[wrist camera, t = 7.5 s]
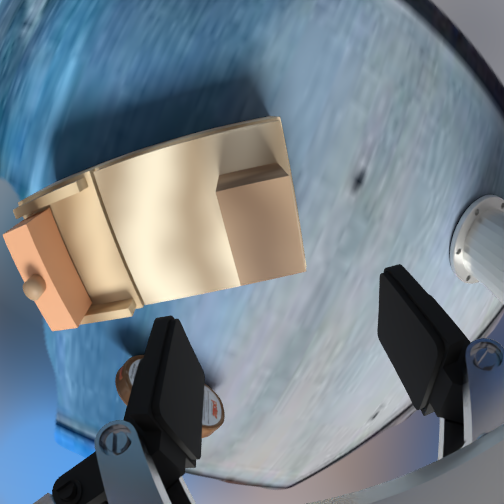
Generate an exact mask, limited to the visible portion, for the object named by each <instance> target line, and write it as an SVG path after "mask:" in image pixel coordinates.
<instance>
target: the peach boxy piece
mask: <svg viewBox="0 0 504 504" xmlns="http://www.w3.org/2000/svg"><path fill="white" fill-rule="evenodd" d="M3 237H4V240H5V242H6V244H7V246H8V249H9V251H10V253H11V256H12V257H13V260H14V262H15V264H16V266H17V268H18V270H19V272H20V274H21V276H22V278H23V280H24V282H25V283H24V284H23V291H24V293H25V295H26V296H27V297H28V298H29V299H31V300H34V301H35V302H36V305H37V306H38V308H39V310H40V311H41V313H42V315H43V317H44V318H45V320H46V322H47V323H48V325H49V326H50V328H51V330H52V331H57V330H65V329H72V328H78V326H79V325H80V323H81V321H82V319H83V318H84V316H85V314H86V312H87V311H88V309H89V307H90V306H91V304H92V301H91V299H90V297H89V295H88V294H87V292H86V290H85V288H84V286H83V284H82V282H81V280H80V278H79V275H78V273H77V271H76V269H75V267H74V265H73V263H72V260H71V258H70V256H69V254H68V252H67V249H66V247H65V245H64V242H63V240H62V238H61V235H60V233H59V230H58V228H57V225H56V223H55V220H54V218H53V215H52V212H51V210H50V208H48V209H46V210H44V211H41V212H39V213H37V214H34V215H32V216H30V217H28V218H26V219H24V220H23V221H21V222H20V223H19V224H17V225H15V226H14V227H13V228H11V229H10V230H8V231H7V232H6V233H4V234H3Z"/></svg>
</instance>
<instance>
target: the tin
mask: <svg viewBox="0 0 504 504" xmlns="http://www.w3.org/2000/svg"><path fill="white" fill-rule="evenodd" d="M143 357H144V355H137V356H133V357H131V358H130V359H128V360H127V361H126V363H125V364H124V365H123V366H122V367H121V368H120V369H119V370H118V372H117V374H116V380H115V382H116V388H117V391H118V394H119V396H120V397H121V399H122V400H123V402H124V403H125V404H126V405H127V404H128V400H129V397H130V393H131V389H132V385H133V382H134V378H135V374H136V371H137V367H138V364H139V361H140V359H141V358H143ZM223 422H224V409H223V404H222V402H221V400H220V398H219V397H218V395H217V394H216V393H215V392H214V391H213V390H212V389H211V388H210V387H209V386H208V385H206V384H204V401H203V419H202V438H204V437H208V436H210V435H211V434H212V433H213V432H214V431H215V430H217V429H218V428H219V427H220V426H221V425H222V424H223Z"/></svg>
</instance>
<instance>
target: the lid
mask: <svg viewBox="0 0 504 504" xmlns="http://www.w3.org/2000/svg"><path fill="white" fill-rule="evenodd" d="M94 176H95V179H96V182H97V185H98V188H99V191H100V194H101V197H102V200H103V203H104V205H105V208H106V211H107V214H108V217H109V219H110V222H111V225H112V227H113V230H114V233H115V235H116V238H117V240H118V243H119V245H120V248H121V250H122V253H123V255H124V258H125V260H126V263H127V265H128V267H129V270H130V272H131V274H132V277H133V279H134V281H135V283H136V286H137V288H138V290H139V292H140V294H141V297H142V299H143V301H144V303H145V305H147V304H153V303H158V302H163V301H168V300H174V299H179V298H184V297H189V296H194V295H199V294H204V293H209V292H214V291H219V290H223V289H228V288H233V287H238V286H242V285H247V284H252V283H256V282H261V281H266V280H270V279H275V278H279V277H284V276H288V275H293V274H297V273H301V272H306V266H305V259H304V252H303V245H302V239H301V233H300V226H299V220H298V214H297V208H296V202H295V196H294V191H293V185H292V180H291V174H290V169H289V163H288V158H287V153H286V148H285V143H284V138H283V133H282V128H281V123H280V120H275V121H270V122H265V123H260V124H255V125H250V126H245V127H240V128H236V129H231V130H227V131H223V132H219V133H215V134H211V135H207V136H203V137H199V138H195V139H191V140H188V141H184V142H181V143H177V144H174V145H170V146H167V147H163V148H160V149H157V150H154V151H150V152H147V153H144V154H141V155H138V156H135V157H132V158H129V159H126V160H123V161H121V162H118V163H115V164H112V165H109V166H107V167H104V168H101V169H99V170H97V171H95V172H94Z"/></svg>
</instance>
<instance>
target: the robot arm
mask: <svg viewBox="0 0 504 504" xmlns="http://www.w3.org/2000/svg"><path fill="white" fill-rule="evenodd" d="M450 263H451V267H452V270H453V272H454V274H455V275H456V276H457V277H458V278H459V279H460V280H461V281H463V282H465V283H469V284H473V283H478V282H480V283H481V284H482V285H483V286H485V287H486V288H487V289H488V290H489V291H490V292H491V293H492V294H493V295H494V296H495V297H496V298H497V299H498V300H499V301H500V302H501V303H502V304H503V305H504V200H503V199H502V198H500V197H498V196H496V195H485V196H483V197H481V198H479V199H477V200H476V201H475V202H473V203H472V204H471V205H470V206H469V207H468V209H467V210H466V211H465V213H464V214H463V215H462V217H461V219H460V221H459V223H458V224H457V227H456V229H455V232H454V234H453V238H452V242H451V248H450ZM378 338H379V340H380V342H381V344H382V346H383V348H384V350H385V351H386V353H387V355H388V357H389V359H390V361H391V362H392V364H393V366H394V368H395V370H396V372H397V374H398V376H399V378H400V380H401V381H402V383H403V385H404V387H405V389H406V391H407V393H408V395H409V397H410V399H411V401H412V403H413V405H414V407H415V408H416V410H419V409H421V411H422V413H423V415H424V416H426V415H428V414H430V413H432V412H435V413H436V415H437V417H440V433H439V451H438V461H436V462H433V463H431V464H429V465H427V466H425V467H422V468H420V469H418V470H415V471H413V472H411V473H408V474H406V475H403V476H401V477H398V478H395V479H393V480H390V481H387V482H384V483H382V484H379V485H376V486H373V487H369V488H366V489H363V490H360V491H357V492H353V493H350V494H346V495H342V496H338V497H335V498H330V499H326V500H322V501H318V502H312V503H308V504H504V348H503V346H501V344H500V343H498V342H497V341H495V340H492V339H489V338H480V339H476V340H474V341H472V342H470V341H469V340H468V339H467V337H466V336H465V335H464V334H463V332H462V331H461V330H460V329H459V327H458V326H457V325H456V324H455V323H454V321H453V320H452V319H451V318H450V317H449V315H448V314H447V313H446V312H445V311H444V310H443V308H442V307H441V306H440V305H439V304H438V303H437V302H436V300H435V299H434V298H433V297H432V296H431V295H429V294H428V293H427V292H426V291H425V290H424V289H423V288H422V287H421V285H420V284H419V283H418V282H417V281H416V280H415V279H414V278H413V277H412V276H411V275H410V273H409V272H408V271H407V270H406V269H405V268H404V267H403V266H402V265H400V264H399V265H395V266H391V267H387V268H385V269H384V273H381V274H380V288H379V315H378ZM204 384H205V377H204V372H203V369H202V367H201V365H200V363H199V361H198V359H197V357H196V355H195V353H194V351H193V349H192V346H191V344H190V342H189V340H188V338H187V336H186V333H185V331H184V329H183V327H182V325H181V322H180V320H179V319H174V318H173V316H165V317H160V318H156V319H155V320H154V324H153V327H152V330H151V334H150V337H149V340H148V344H147V347H146V351H145V354H144V357H143V358H141V359H140V361H139V364H138V367H137V371H136V374H135V378H134V382H133V385H132V389H131V393H130V397H129V400H128V404H127V408H126V412H125V416H124V420H116V421H112V422H109V423H108V424H106V425H104V426H103V427H102V428H101V429H100V430H99V432H98V433H97V435H96V438H95V450H96V451H95V452H94V453H93V454H91V455H90V456H89V457H87V458H86V459H84V460H83V461H82V462H80V463H79V464H77V465H76V466H75V467H73V468H72V469H71V470H69V471H68V472H66V473H65V474H63V475H62V476H61V477H59V479H57V480H56V482H55V484H54V486H53V490H52V495H51V494H49V493H47V494H46V495H44V496H43V497H42V498H40V499H39V500H38V501H36V502H35V503H34V504H196V503H195V501H194V500H193V497H192V496H191V494H190V492H189V490H188V488H187V486H186V484H185V482H184V480H183V478H182V475H184V474H185V468H196V459H200V457H201V442H202V419H203V401H204Z"/></svg>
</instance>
